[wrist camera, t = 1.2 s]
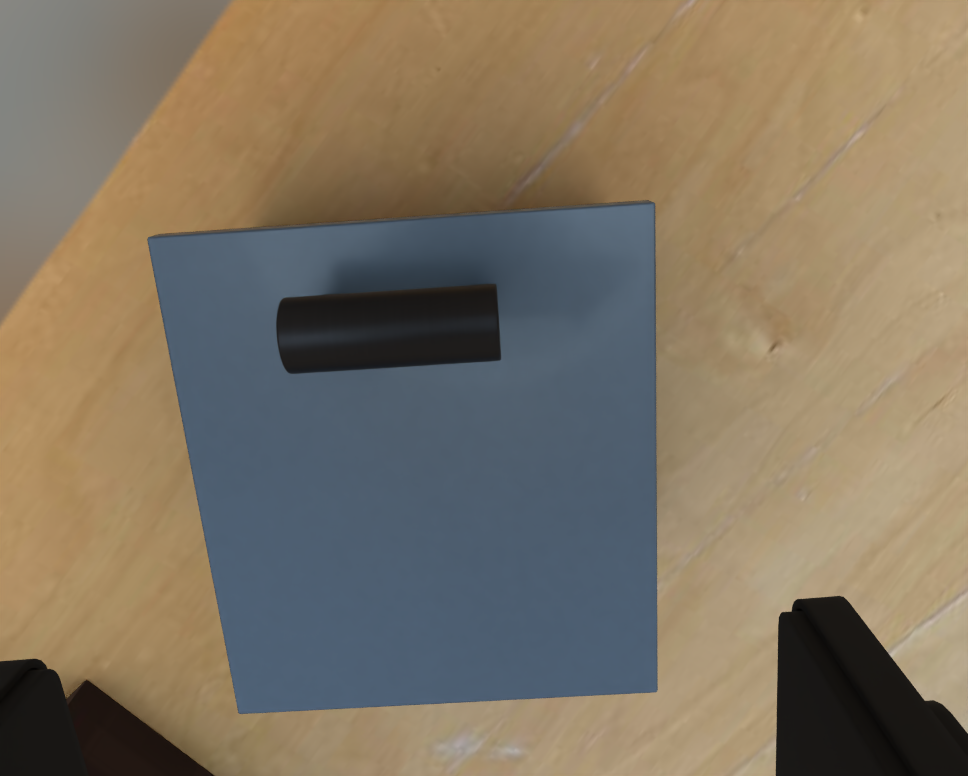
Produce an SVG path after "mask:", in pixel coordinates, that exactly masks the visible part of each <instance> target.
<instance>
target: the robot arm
mask: <svg viewBox="0 0 968 776" xmlns="http://www.w3.org/2000/svg"><path fill="white" fill-rule="evenodd" d="M0 776H89V774H88V771H87V768H86V764H85V761H84V758H83V754H82V751H81V748H80V744H79V741H78V738H77V734H76V731H75V728H74V724H73V721H72V718H71V714H70V711H69V708H68V704H67V701H66V698H65V694H64V691H63V688H62V684H61V681H60V678H59V676H58V674H57V673H56V672H55V671H54V670H51V669H47V667H46V665H45V664H44V663H43V662H42V661H41V660H38V659H26V660H13V661H0ZM776 776H968V734H967V732H966V731H965V730H964V729H963V727H962V726H961V725H960V724H959V722H958V721H957V720H956V719H955V717H954V716H953V715H952V714H951V713H950V712H949V711H948V710H947V709H946V708H945V707H944V706H943V705H942V704H940V703H938V702H936V701H934V700H933V701H924V699H923V698H922V697H921V695H920V694H919V693H918V692H917V690H916V689H915V688H914V686H913V685H912V684H911V682H910V681H909V680H908V679H907V677H906V676H905V675H904V673H903V672H902V671H901V669H900V668H899V667H898V666H897V664H896V663H895V662H894V660H893V659H892V658H891V656H890V655H889V654H888V653H887V651H886V650H885V649H884V647H883V646H882V645H881V643H880V642H879V641H878V640H877V638H876V637H875V636H874V634H873V633H872V632H871V630H870V629H869V628H868V627H867V625H866V624H865V623H864V621H863V620H862V619H861V617H860V616H859V615H858V613H857V612H856V611H855V610H854V608H853V607H852V606H851V604H850V603H849V602H848V601H847V600H846V599H845V598H844V597H841V596H834V597H821V598H808V599H797V600H796V601H794V604H793V607H792V612H782V613H781V614H780V617H779V624H778V681H777V739H776Z"/></svg>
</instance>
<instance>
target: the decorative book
mask: <svg viewBox="0 0 968 776" xmlns="http://www.w3.org/2000/svg"><path fill="white" fill-rule="evenodd" d="M66 701H67V704H68V708H69V711H70V714H71V718H72V721H73V724H74V728H75V731H76V734H77V738H78V741H79V744H80V748H81V751H82V754H83V758H84V761H85V764H86V768H87V771H88V774H89V776H213V775H212V774H210V773H209V772H208V771H206V770H205V769H204V768H202V767H201V766H200V765H198V764H197V763H196V762H194V761H193V760H192V759H190V758H189V757H188V756H186V755H185V754H184V753H182V752H181V751H180V750H179V749H177V748H176V747H175V746H173V745H172V744H171V743H169V742H168V741H167V740H165V739H164V738H163V737H161V736H160V735H159V734H157V733H156V732H155V731H153V730H152V729H151V728H149V727H148V726H147V725H145V724H144V723H143V722H141V721H140V720H139V719H137V718H136V717H135V716H133V715H132V714H131V713H129V712H128V711H127V710H125V709H124V708H123V707H121V706H120V705H119V704H118V703H116V702H115V701H114V700H112V699H111V698H110V697H108V696H107V695H106V694H104V693H103V692H102V691H100V690H99V689H98V688H96V687H95V686H94V685H92V684H91V683H90V682H88V681H87V680H86V681H85V682H84V683H83V684H82V685H81V686H79V687H78V688H77V689H76V690H75V691H74V692H73V693H72V694H71V695H70V696H69V697H68V698H67V699H66Z"/></svg>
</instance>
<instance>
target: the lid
mask: <svg viewBox="0 0 968 776" xmlns="http://www.w3.org/2000/svg"><path fill="white" fill-rule="evenodd" d="M147 240H148V245H149V251H150V256H151V261H152V266H153V271H154V277H155V282H156V287H157V292H158V297H159V302H160V308H161V313H162V318H163V323H164V328H165V334H166V339H167V344H168V349H169V354H170V360H171V365H172V370H173V375H174V380H175V386H176V391H177V396H178V401H179V406H180V412H181V417H182V422H183V427H184V432H185V438H186V443H187V448H188V453H189V458H190V463H191V469H192V474H193V479H194V484H195V489H196V495H197V500H198V505H199V510H200V515H201V521H202V526H203V531H204V536H205V541H206V547H207V552H208V557H209V562H210V567H211V573H212V578H213V583H214V588H215V593H216V599H217V604H218V609H219V614H220V619H221V624H222V630H223V635H224V640H225V645H226V650H227V656H228V661H229V666H230V671H231V676H232V682H233V687H234V692H235V697H236V702H237V708H238V713H239V714H248V713H267V712H286V711H306V710H325V709H344V708H363V707H382V706H401V705H420V704H440V703H459V702H478V701H497V700H516V699H535V698H555V697H574V696H593V695H612V694H631V693H650V692H657V690H658V687H657V473H656V259H655V203H654V202H652V201H649V200H642V201H628V202H613V203H599V204H585V205H570V206H556V207H541V208H527V209H513V210H498V211H484V212H469V213H455V214H441V215H426V216H412V217H397V218H383V219H369V220H354V221H340V222H325V223H311V224H296V225H282V226H268V227H253V228H239V229H224V230H210V231H196V232H181V233H167V234H158V235H154V236H151V237H148V239H147Z"/></svg>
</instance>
